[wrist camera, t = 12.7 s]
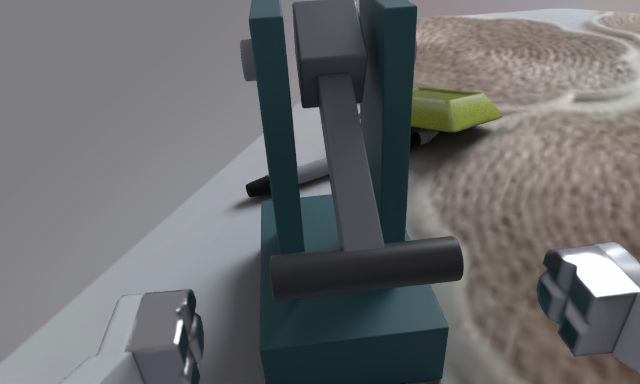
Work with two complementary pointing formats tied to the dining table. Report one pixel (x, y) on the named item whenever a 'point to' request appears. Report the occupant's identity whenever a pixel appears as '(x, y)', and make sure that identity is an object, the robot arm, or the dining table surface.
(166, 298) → the robot arm
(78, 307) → the dining table surface
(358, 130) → the lever
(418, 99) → the saucer
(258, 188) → the pen
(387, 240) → the teal axle stand
